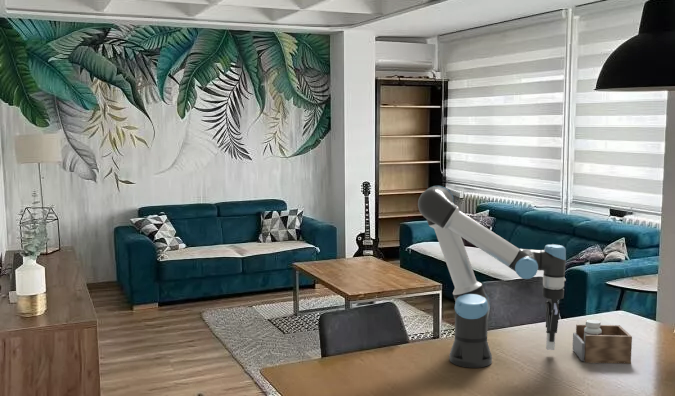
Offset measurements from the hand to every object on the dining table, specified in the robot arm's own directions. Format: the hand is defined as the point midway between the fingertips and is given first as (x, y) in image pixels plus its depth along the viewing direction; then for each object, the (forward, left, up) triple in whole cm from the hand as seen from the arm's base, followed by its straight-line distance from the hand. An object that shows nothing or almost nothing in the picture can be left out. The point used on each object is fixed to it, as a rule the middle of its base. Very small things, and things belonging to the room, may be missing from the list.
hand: (550, 349), depth 265 cm
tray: (+18, 0, -2) cm, 18 cm away
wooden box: (+19, 0, -2) cm, 19 cm away
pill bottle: (+15, 0, -1) cm, 15 cm away
